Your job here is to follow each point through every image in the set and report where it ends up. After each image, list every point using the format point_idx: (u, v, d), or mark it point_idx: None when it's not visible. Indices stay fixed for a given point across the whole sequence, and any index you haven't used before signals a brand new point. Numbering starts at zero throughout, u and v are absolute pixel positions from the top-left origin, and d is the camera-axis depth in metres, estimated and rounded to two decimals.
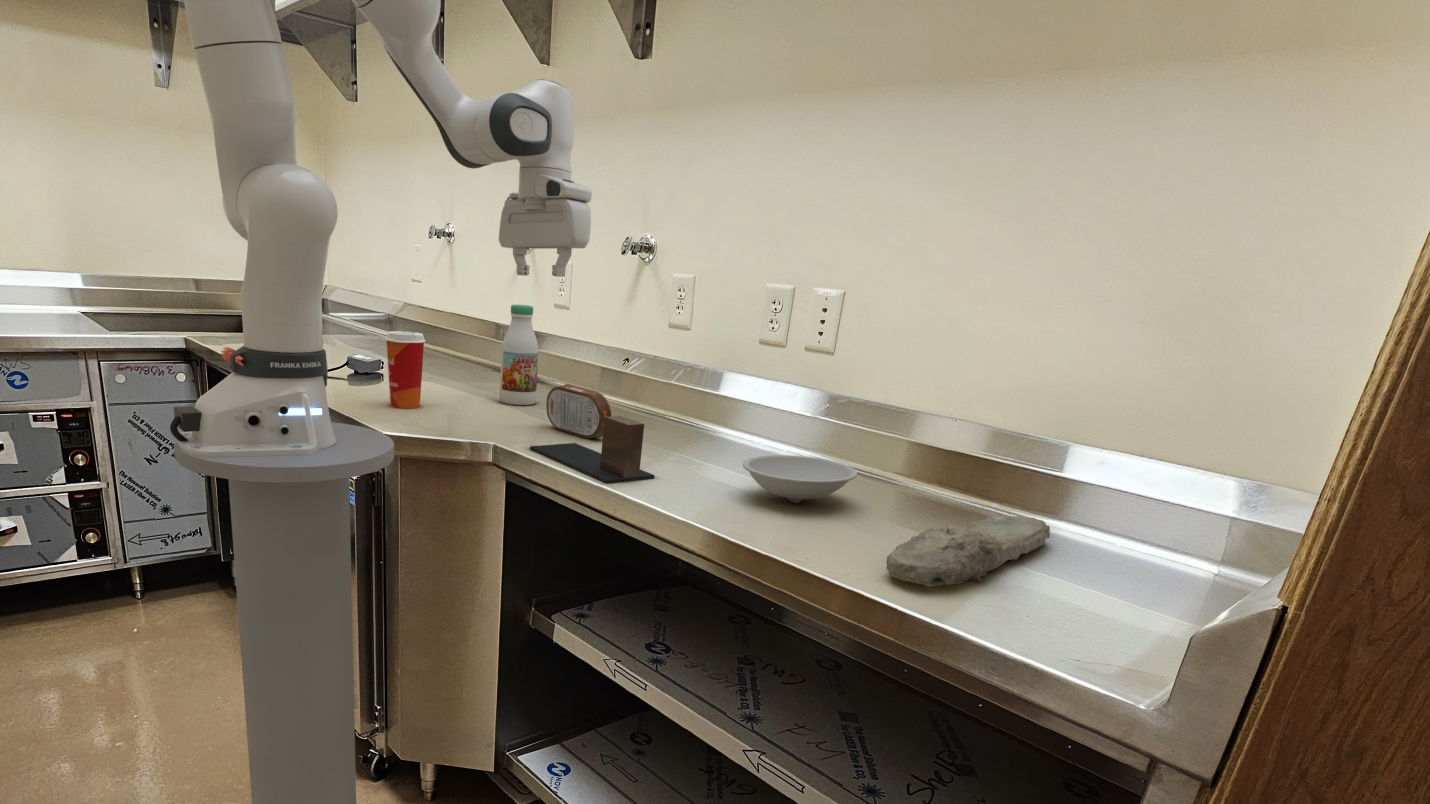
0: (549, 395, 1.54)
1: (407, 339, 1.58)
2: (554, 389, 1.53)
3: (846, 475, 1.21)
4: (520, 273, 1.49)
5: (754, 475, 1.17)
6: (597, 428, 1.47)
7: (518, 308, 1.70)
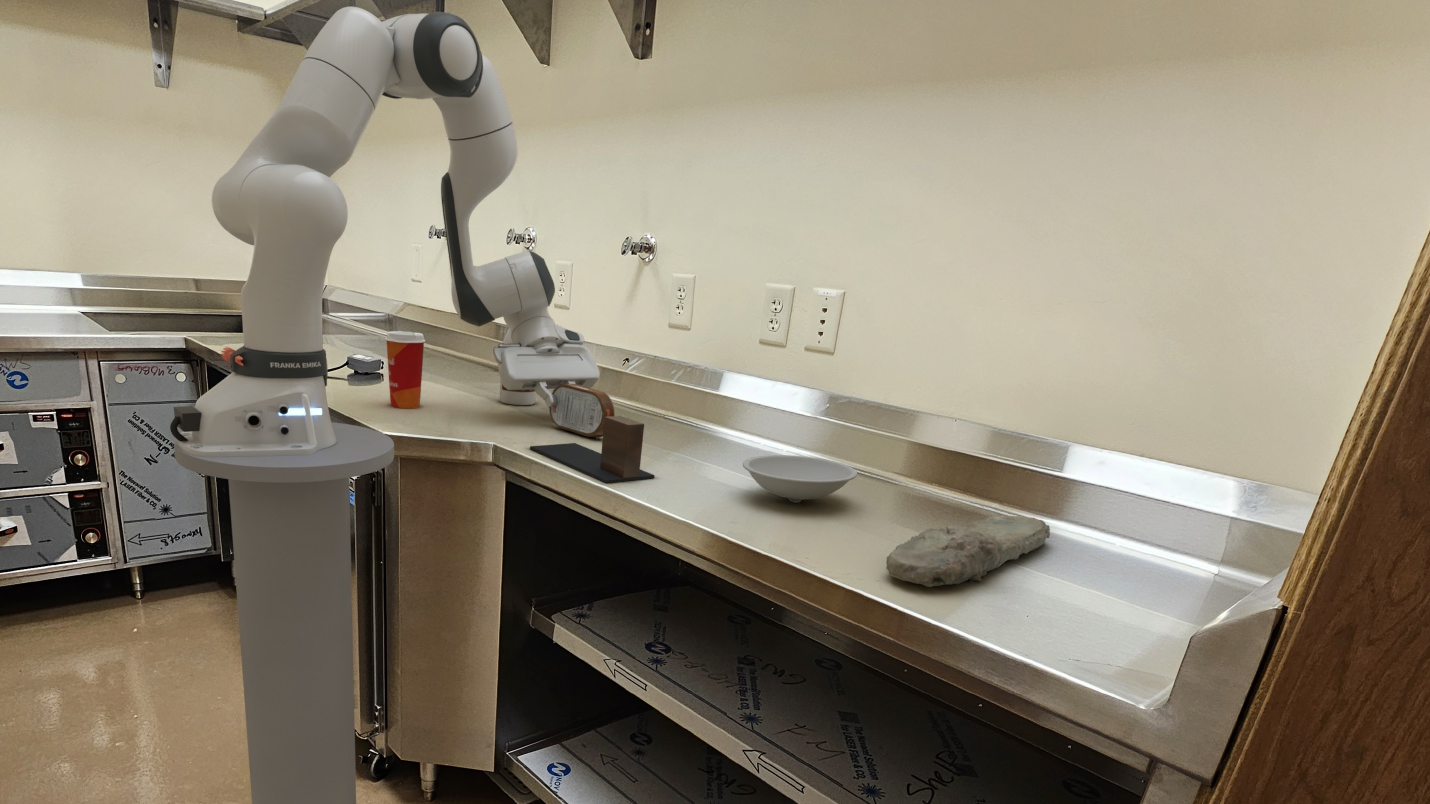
0: (554, 393, 1.55)
1: (407, 339, 1.58)
2: (559, 387, 1.54)
3: (846, 475, 1.21)
4: (555, 401, 1.54)
5: (754, 475, 1.17)
6: (599, 426, 1.48)
7: None
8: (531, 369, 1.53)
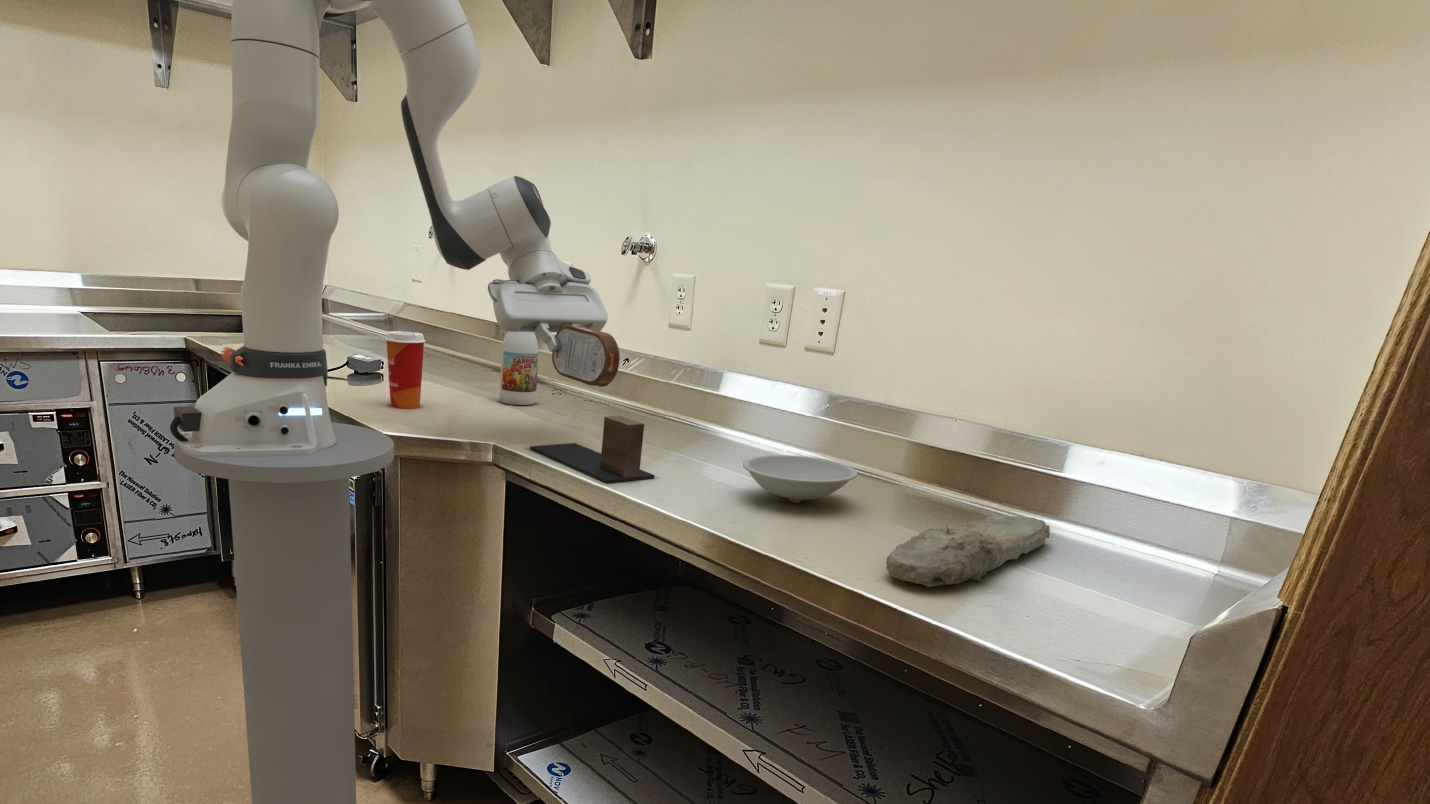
0: (557, 336, 1.37)
1: (407, 339, 1.58)
2: (562, 328, 1.36)
3: (846, 475, 1.21)
4: (559, 345, 1.36)
5: (754, 475, 1.17)
6: (601, 372, 1.29)
7: None
8: (531, 308, 1.35)
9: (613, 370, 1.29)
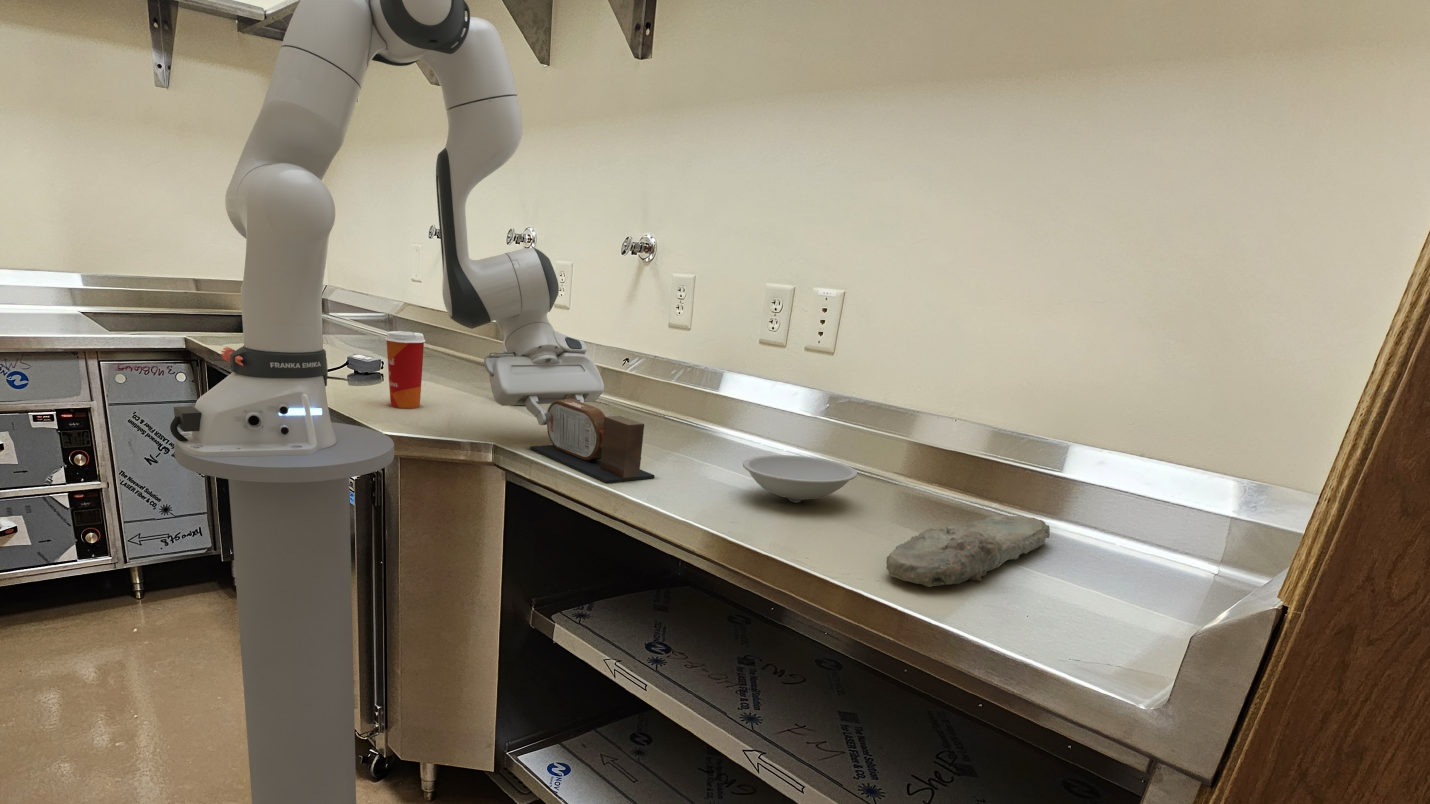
0: (549, 410, 1.37)
1: (407, 339, 1.58)
2: (553, 404, 1.36)
3: (846, 475, 1.21)
4: (548, 418, 1.36)
5: (754, 475, 1.17)
6: (594, 449, 1.29)
7: None
8: (527, 382, 1.36)
9: None
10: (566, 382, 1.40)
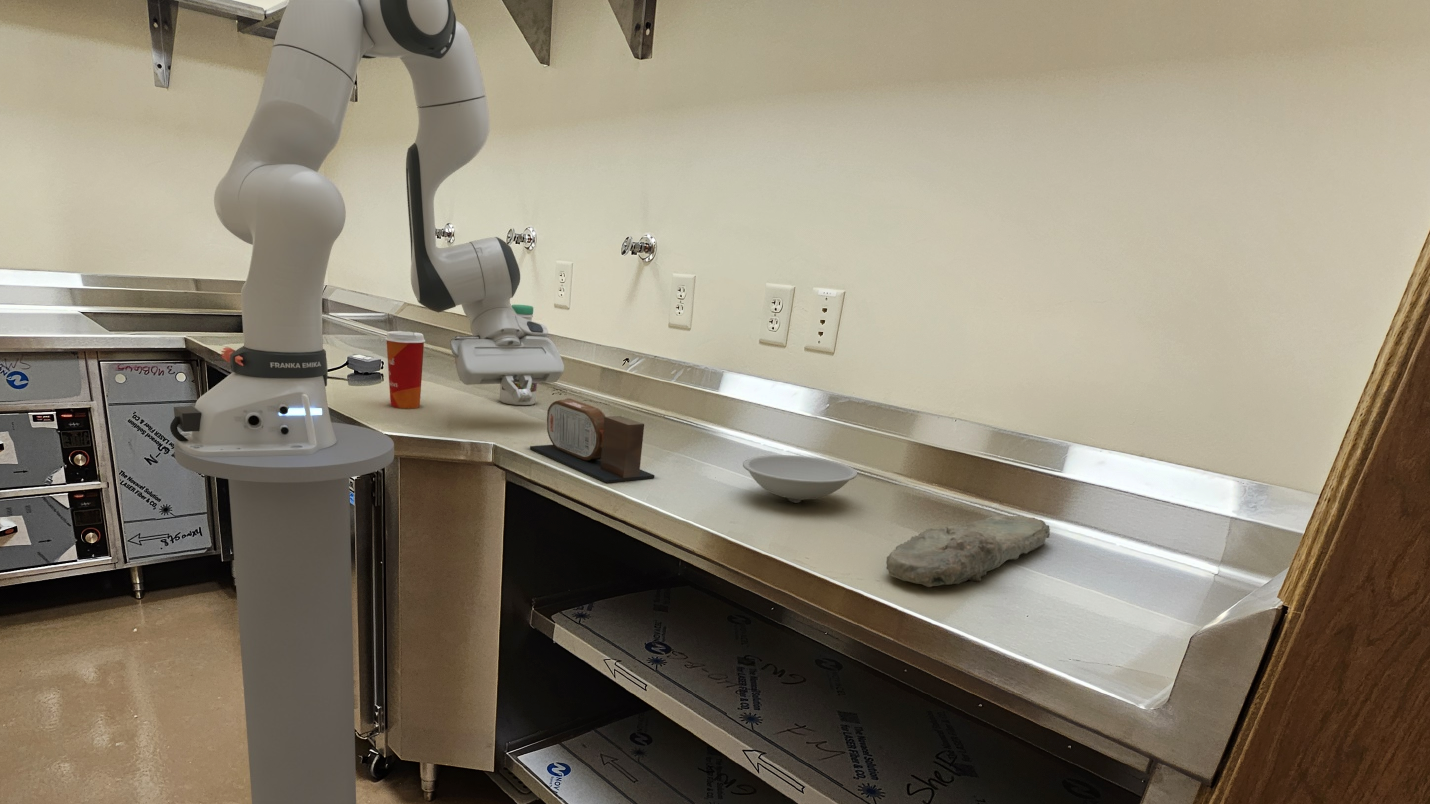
0: (549, 410, 1.37)
1: (407, 339, 1.58)
2: (553, 404, 1.36)
3: (846, 475, 1.21)
4: (523, 396, 1.47)
5: (754, 475, 1.17)
6: (594, 449, 1.29)
7: (518, 308, 1.70)
8: (490, 362, 1.45)
9: None
10: (527, 363, 1.49)
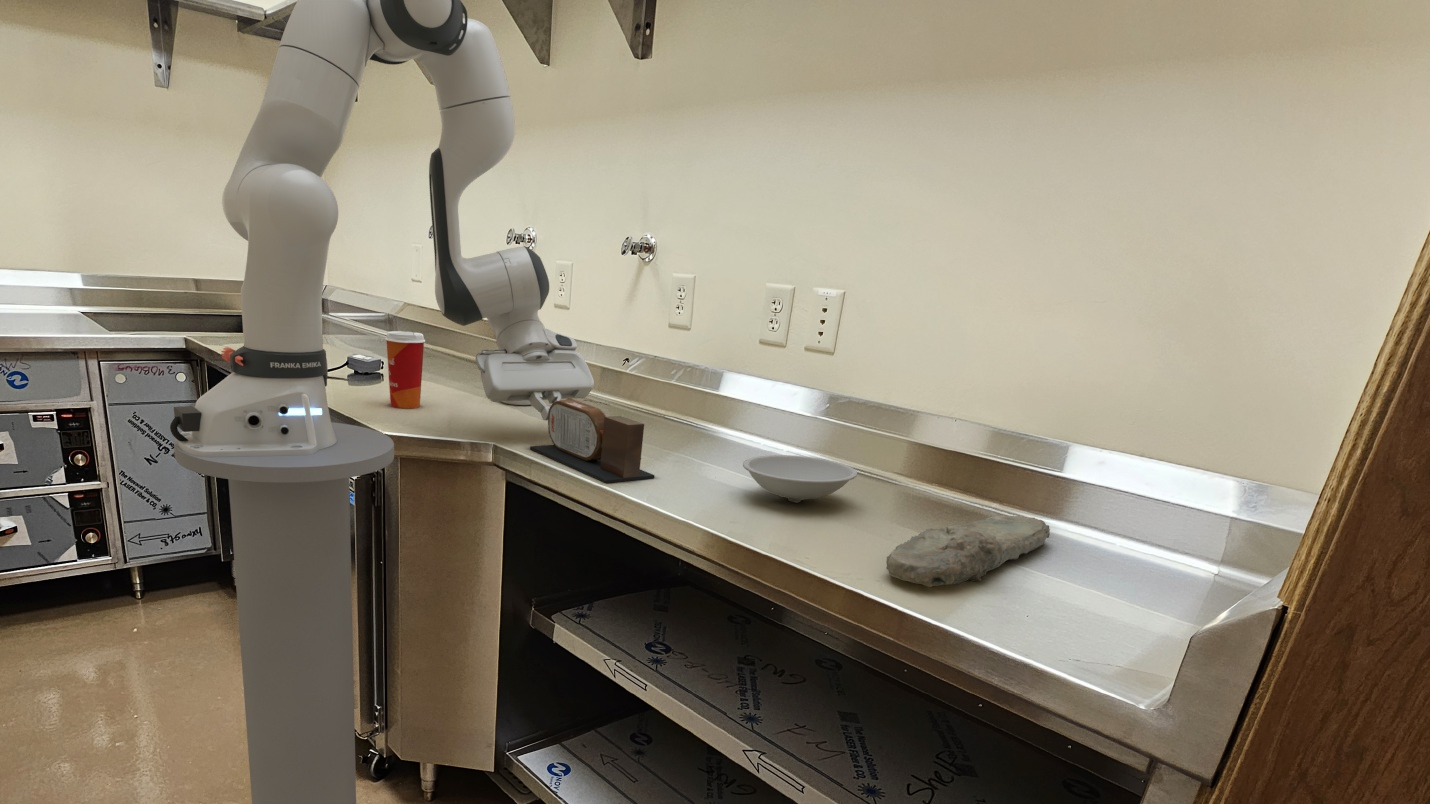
0: (550, 410, 1.37)
1: (407, 339, 1.58)
2: (554, 404, 1.36)
3: (846, 475, 1.21)
4: None
5: (754, 475, 1.17)
6: (594, 449, 1.29)
7: None
8: (518, 378, 1.38)
9: None
10: (556, 379, 1.42)
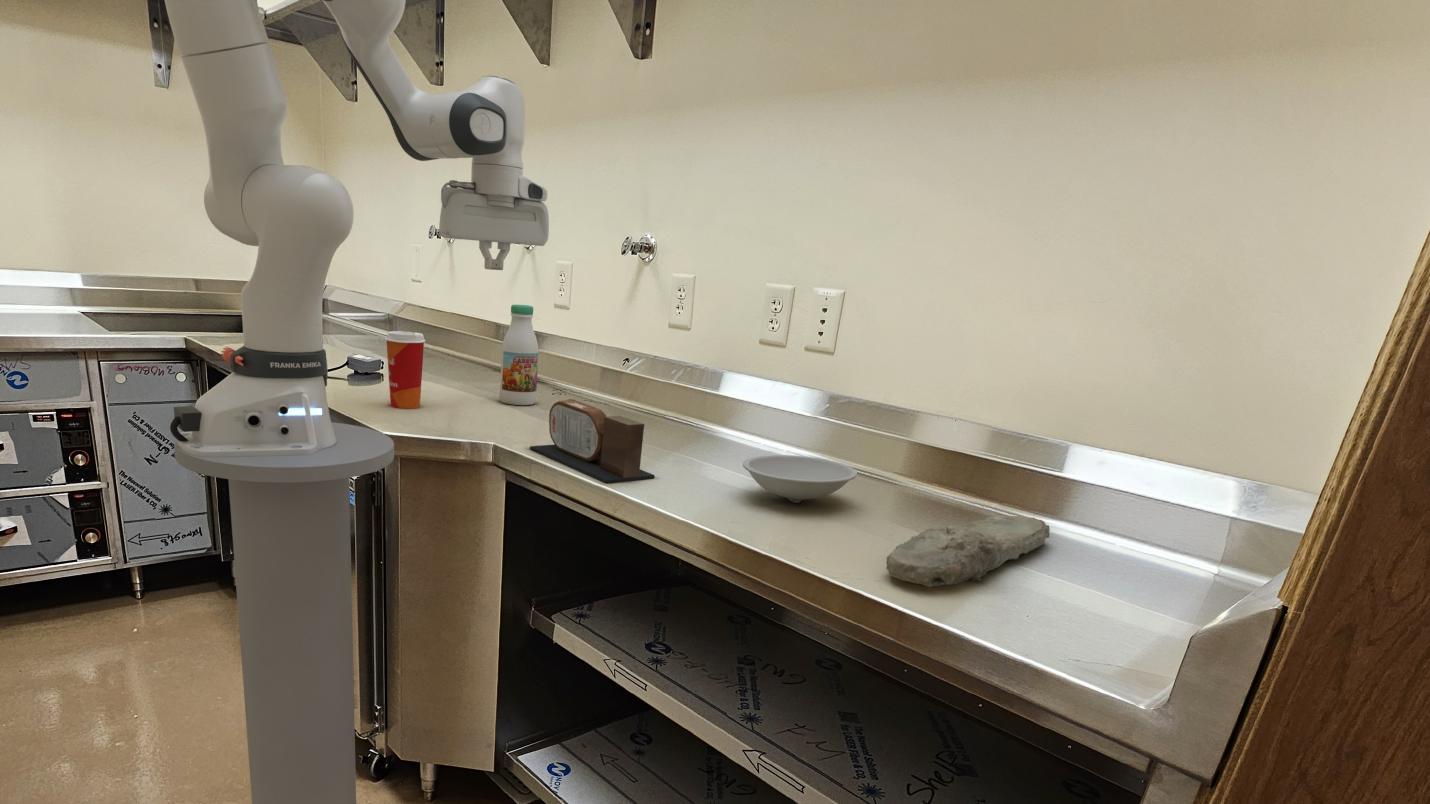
0: (551, 411, 1.37)
1: (407, 339, 1.58)
2: (555, 404, 1.36)
3: (846, 475, 1.21)
4: (493, 268, 1.49)
5: (754, 475, 1.17)
6: (595, 450, 1.29)
7: (518, 308, 1.70)
8: (474, 227, 1.43)
9: None
10: (512, 232, 1.48)
